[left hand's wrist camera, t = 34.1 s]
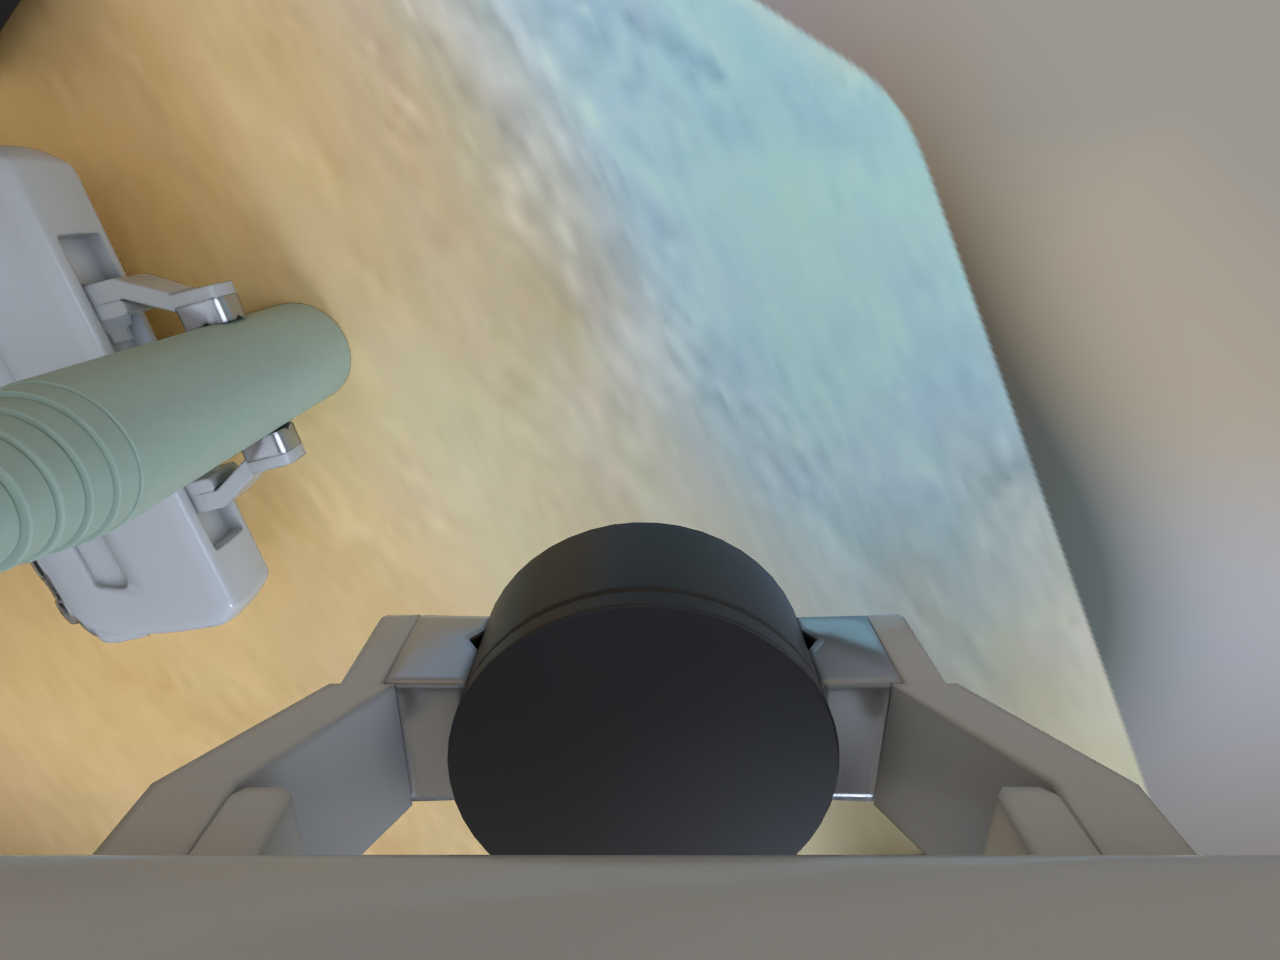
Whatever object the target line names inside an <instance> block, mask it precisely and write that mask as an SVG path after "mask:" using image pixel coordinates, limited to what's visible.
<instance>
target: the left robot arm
mask: <svg viewBox="0 0 1280 960" xmlns="http://www.w3.org/2000/svg"><path fill="white" fill-rule="evenodd" d="M488 620H489V616H438V615H423V616H421V615H387V616H385V617H382V618H381V619H380V621H379V622H378V624H377V626H376V627H375V629H374V631H373V632H372V634H371V635H370V637H369V639H368V640H367V642H366V643H365V645H364V647H363V648H362V650H361V652H360V653H359V655H358V656H357V658H356V660H355V661H354V663H353V665H352V666H351V668H350V669H349V671H348V673H347V674H346V676H345V677H344V679H343V681H342V682H341V684H328V685H327V686H325V687H323V688H321V689H320V690H318V691H316V692H314V693H312V694H311V695H309V696H307V697H305V698H303V699H302V700H300V701H298V702H296V703H295V704H293V705H291V706H289V707H287V708H286V709H284V710H282V711H280V712H279V713H277V714H275V715H273V716H271V717H270V718H268V719H266V720H264V721H262V722H261V723H259V724H257V725H255V726H254V727H252V728H250V729H248V730H246V731H245V732H243V733H241V734H239V735H238V736H236V737H234V738H232V739H230V740H229V741H227V742H225V743H223V744H221V745H220V746H218V747H216V748H214V749H213V750H211V751H209V752H207V753H205V754H204V755H202V756H200V757H198V758H197V759H195V760H193V761H191V762H189V763H188V764H186V765H184V766H182V767H181V768H179V769H177V770H175V771H173V772H172V773H170V774H168V775H166V776H164V777H163V778H161V779H159V780H157V781H156V782H154V783H152V784H151V785H150V786H149V788H148V789H147V790H146V791H145V792H144V794H143V795H142V796H141V797H140V798H139V800H138V801H137V802H136V803H135V804H134V805H133V807H132V808H131V809H130V810H129V811H128V813H127V814H126V815H125V816H124V817H123V819H122V820H121V821H120V822H119V823H118V825H117V826H116V827H115V828H114V829H113V831H112V832H111V833H110V834H109V835H108V837H107V838H106V839H105V840H104V841H103V843H102V844H101V845H100V846H99V847H98V849H97V850H96V851H95V852H94V853H93V855H0V960H1280V855H1197V854H1196V853H1195V852H1194V851H1193V849H1192V848H1191V847H1190V846H1189V845H1188V843H1187V842H1186V841H1185V840H1184V839H1183V837H1182V836H1181V835H1180V834H1179V833H1178V832H1177V830H1176V829H1175V828H1174V827H1173V826H1172V824H1171V823H1170V822H1169V821H1168V820H1167V818H1166V817H1165V816H1164V815H1163V814H1162V813H1161V811H1160V810H1159V809H1158V808H1157V807H1156V805H1155V804H1154V803H1153V802H1152V801H1151V799H1150V798H1149V797H1148V796H1147V795H1146V794H1145V792H1144V791H1143V790H1142V789H1141V788H1140V786H1139V785H1138V784H1136V783H1134V782H1132V781H1130V780H1129V779H1127V778H1125V777H1123V776H1122V775H1120V774H1118V773H1116V772H1114V771H1113V770H1111V769H1109V768H1107V767H1105V766H1104V765H1102V764H1100V763H1098V762H1096V761H1095V760H1093V759H1091V758H1089V757H1087V756H1086V755H1084V754H1082V753H1080V752H1079V751H1077V750H1075V749H1073V748H1071V747H1070V746H1068V745H1066V744H1064V743H1062V742H1061V741H1059V740H1057V739H1055V738H1053V737H1052V736H1050V735H1048V734H1046V733H1044V732H1043V731H1041V730H1039V729H1037V728H1035V727H1034V726H1032V725H1030V724H1028V723H1027V722H1025V721H1023V720H1021V719H1019V718H1018V717H1016V716H1014V715H1012V714H1010V713H1009V712H1007V711H1005V710H1003V709H1001V708H1000V707H998V706H996V705H994V704H992V703H991V702H989V701H987V700H985V699H984V698H982V697H980V696H978V695H976V694H975V693H973V692H971V691H969V690H967V689H966V688H964V687H962V686H960V685H958V684H946V683H945V681H944V680H943V678H942V676H941V675H940V673H939V672H938V670H937V669H936V667H935V666H934V664H933V662H932V661H931V659H930V658H929V656H928V655H927V653H926V651H925V650H924V648H923V647H922V645H921V644H920V642H919V641H918V639H917V637H916V636H915V634H914V633H913V631H912V630H911V628H910V626H909V625H908V623H907V622H906V620H905V619H904V617H902V616H900V615H898V614H896V615H870V616H838V617H798V618H797V621H798V624H799V627H800V629H801V632H802V635H803V637H804V640H805V643H806V646H807V648H808V651H809V654H810V656H811V659H812V662H813V665H814V667H815V670H816V673H817V675H818V678H819V681H820V684H821V686H822V689H823V692H824V694H825V697H826V700H827V703H828V705H829V708H830V711H831V713H832V716H833V719H834V722H835V725H836V730H837V735H838V741H839V762H840V765H839V772H838V778H837V785H836V788H835V791H834V795H833V798H832V800H846V801H874V805H875V806H876V807H877V808H878V809H879V810H880V811H881V812H882V813H883V814H884V815H885V816H886V817H887V818H888V819H889V820H891V821H892V822H893V823H894V824H895V825H896V826H897V827H898V828H899V829H900V830H901V831H902V832H903V833H904V834H905V835H906V836H907V837H908V838H909V839H910V840H911V841H912V842H913V843H914V844H915V845H916V846H917V847H918V848H919V849H920V850H921V851H922V852H923V853H924V854H925V855H362V854H363V853H364V852H365V851H366V850H367V849H368V848H369V847H370V846H371V845H372V844H373V843H374V842H375V841H376V840H377V839H378V838H379V837H380V836H381V835H382V834H383V833H384V832H385V831H386V830H387V829H388V828H389V827H390V826H391V825H392V824H393V823H394V822H395V821H396V820H397V819H398V818H399V817H400V816H401V815H402V814H404V813H405V812H406V811H407V810H408V809H409V808H410V807H411V806H412V801H439V800H455V799H454V796H453V792H452V788H451V785H450V781H449V773H448V763H447V754H448V739H449V735H450V731H451V726H452V722H453V718H454V716H455V713H456V710H457V707H458V704H459V702H460V699H461V696H462V693H463V690H464V688H465V685H466V683H467V680H468V677H469V674H470V671H471V669H472V666H473V663H474V660H475V657H476V655H477V652H478V648H479V645H480V642H481V639H482V637H483V634H484V632H485V629H486V626H487V623H488Z"/></svg>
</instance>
